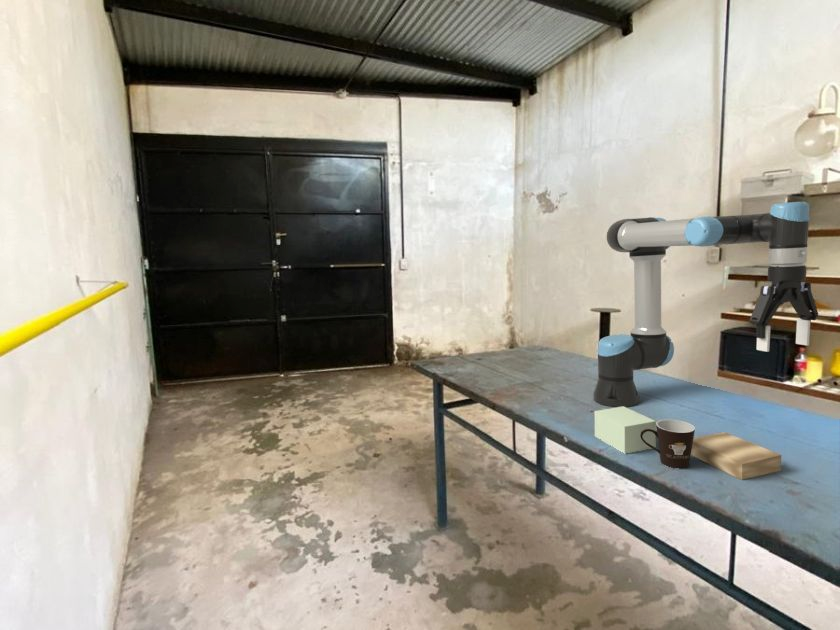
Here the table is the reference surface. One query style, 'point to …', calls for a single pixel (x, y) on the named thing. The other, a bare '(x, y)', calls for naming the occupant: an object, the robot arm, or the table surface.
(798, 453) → the table surface
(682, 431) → the coffee mug
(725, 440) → the oak block
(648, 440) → the sage brick
